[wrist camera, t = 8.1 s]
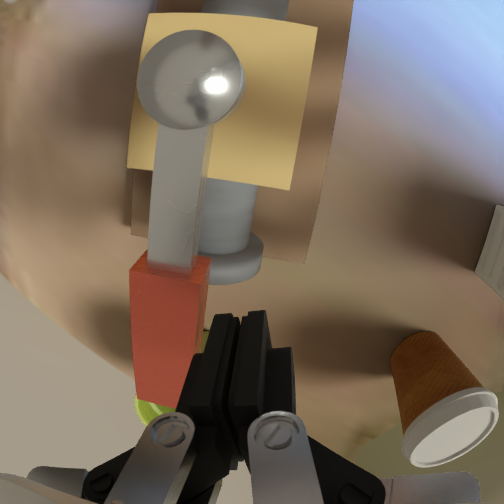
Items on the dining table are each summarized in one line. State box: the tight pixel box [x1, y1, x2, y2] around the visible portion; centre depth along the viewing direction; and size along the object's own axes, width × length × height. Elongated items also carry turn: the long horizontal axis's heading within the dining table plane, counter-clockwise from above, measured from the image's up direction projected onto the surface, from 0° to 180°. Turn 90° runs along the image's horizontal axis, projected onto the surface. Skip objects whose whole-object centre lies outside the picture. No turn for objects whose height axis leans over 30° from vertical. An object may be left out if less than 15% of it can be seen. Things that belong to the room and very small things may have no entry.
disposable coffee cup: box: [390, 331, 499, 467], centre depth 24 cm, size 10×10×12 cm
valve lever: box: [129, 30, 246, 409], centre depth 12 cm, size 3×15×2 cm, turn 170°
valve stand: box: [127, 0, 354, 285], centre depth 16 cm, size 22×14×12 cm, turn 171°
